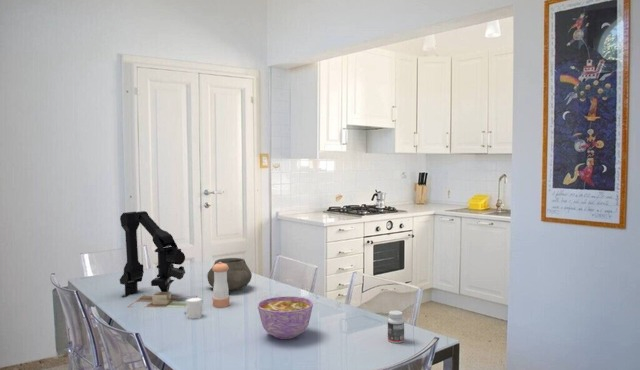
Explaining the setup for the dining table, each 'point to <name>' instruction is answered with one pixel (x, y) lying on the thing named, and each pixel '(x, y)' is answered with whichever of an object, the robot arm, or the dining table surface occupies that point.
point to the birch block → (161, 298)
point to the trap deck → (170, 304)
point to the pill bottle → (395, 327)
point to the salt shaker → (220, 286)
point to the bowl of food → (285, 315)
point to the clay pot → (233, 273)
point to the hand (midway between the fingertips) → (165, 297)
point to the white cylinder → (194, 307)
